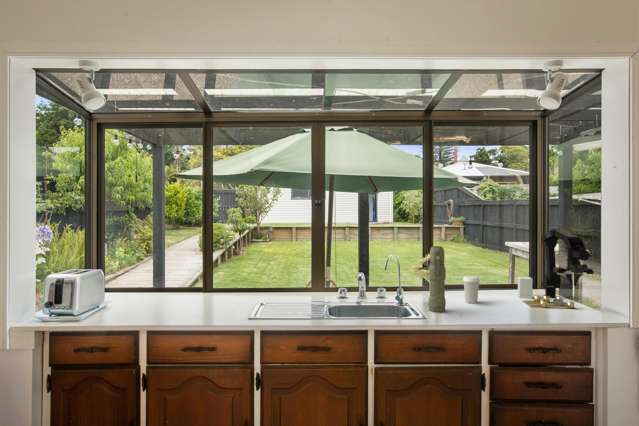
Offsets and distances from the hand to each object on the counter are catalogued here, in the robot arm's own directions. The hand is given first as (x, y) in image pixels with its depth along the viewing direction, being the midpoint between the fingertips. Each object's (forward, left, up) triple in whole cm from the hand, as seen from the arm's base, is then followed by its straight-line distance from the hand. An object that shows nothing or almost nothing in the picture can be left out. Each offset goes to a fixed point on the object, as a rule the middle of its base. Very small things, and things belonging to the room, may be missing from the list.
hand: (572, 285), depth 228 cm
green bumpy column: (+22, -77, -12) cm, 81 cm away
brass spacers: (0, -11, -11) cm, 15 cm away
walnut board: (0, -13, -12) cm, 17 cm away
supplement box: (-19, -20, -12) cm, 30 cm away
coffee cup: (-1, -55, -12) cm, 56 cm away
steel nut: (0, -8, -11) cm, 14 cm away
